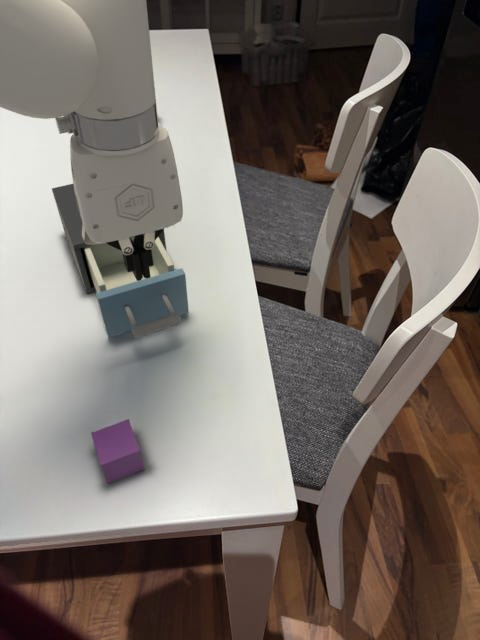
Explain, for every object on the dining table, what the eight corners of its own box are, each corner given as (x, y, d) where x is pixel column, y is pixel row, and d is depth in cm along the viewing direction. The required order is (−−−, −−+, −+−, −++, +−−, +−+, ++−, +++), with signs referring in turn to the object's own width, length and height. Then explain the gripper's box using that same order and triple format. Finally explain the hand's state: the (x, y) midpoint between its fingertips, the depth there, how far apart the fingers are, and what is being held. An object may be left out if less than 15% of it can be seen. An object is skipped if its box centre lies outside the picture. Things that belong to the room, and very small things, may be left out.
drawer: (202, 338, 70) (200, 300, 64) (119, 366, 67) (108, 328, 61) (158, 254, 81) (152, 215, 76) (84, 274, 78) (73, 235, 73)
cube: (107, 483, 57) (100, 465, 54) (98, 451, 60) (90, 432, 56) (145, 469, 58) (140, 450, 55) (134, 438, 61) (128, 418, 58)
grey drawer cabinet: (169, 270, 80) (163, 221, 74) (86, 294, 77) (72, 245, 70) (140, 217, 89) (132, 169, 82) (65, 236, 86) (51, 188, 79)
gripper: (39, 157, 43) (83, 311, 57) (208, 124, 48) (211, 275, 61) (24, 117, 48) (68, 269, 61) (179, 90, 52) (188, 237, 66)
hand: (140, 271), depth 61 cm, fingers closed
